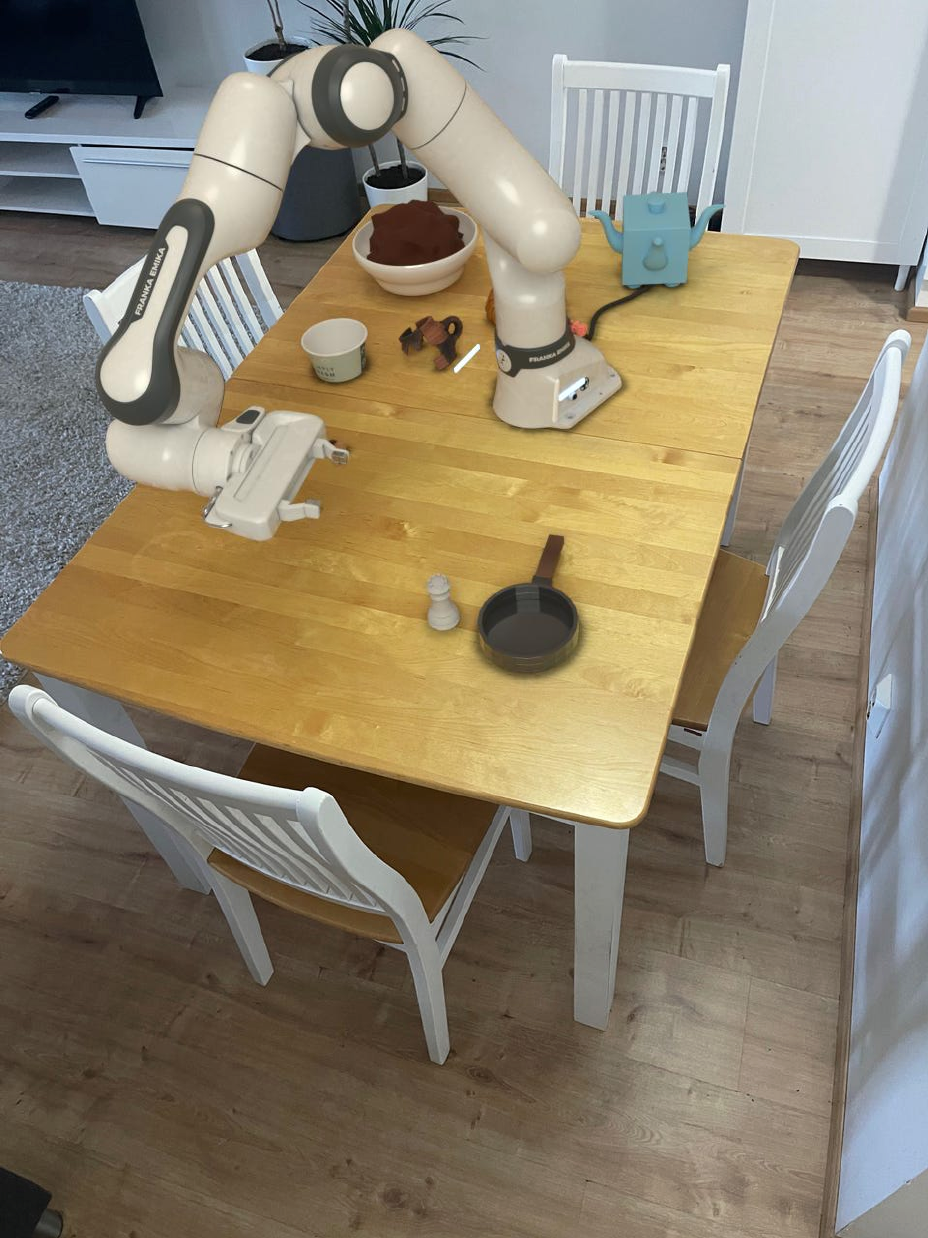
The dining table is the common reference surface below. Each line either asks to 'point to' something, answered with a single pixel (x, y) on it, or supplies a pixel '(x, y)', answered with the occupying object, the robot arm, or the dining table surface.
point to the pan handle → (549, 560)
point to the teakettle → (655, 237)
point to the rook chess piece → (441, 604)
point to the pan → (528, 627)
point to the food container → (336, 348)
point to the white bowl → (416, 247)
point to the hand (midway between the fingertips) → (334, 484)
